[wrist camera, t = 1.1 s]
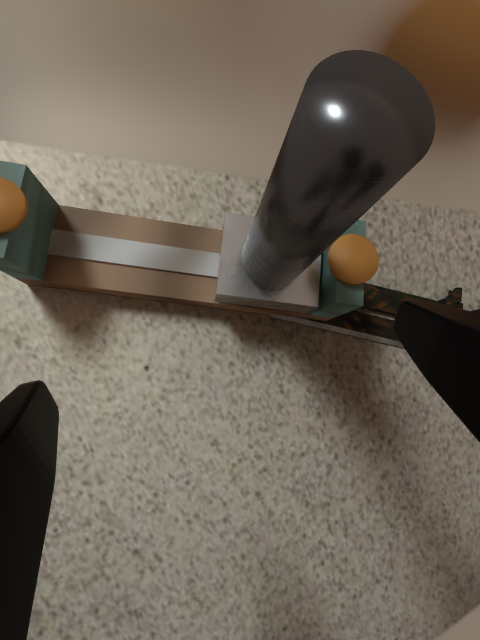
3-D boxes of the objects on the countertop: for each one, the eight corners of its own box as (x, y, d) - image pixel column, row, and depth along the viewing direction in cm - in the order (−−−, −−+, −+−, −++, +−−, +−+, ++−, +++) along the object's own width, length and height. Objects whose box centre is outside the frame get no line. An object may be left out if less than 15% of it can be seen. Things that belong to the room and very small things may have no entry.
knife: (234, 306, 23) (236, 302, 22) (259, 226, 24) (263, 217, 23) (545, 409, 25) (565, 411, 24) (554, 330, 26) (574, 327, 25)
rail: (335, 256, 24) (379, 219, 18) (332, 322, 23) (377, 305, 17) (33, 211, 22) (-26, 151, 16) (16, 283, 21) (-53, 248, 15)
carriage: (311, 240, 22) (473, 54, 9) (306, 313, 21) (479, 220, 8) (223, 226, 21) (263, 4, 8) (214, 301, 20) (245, 179, 7)
